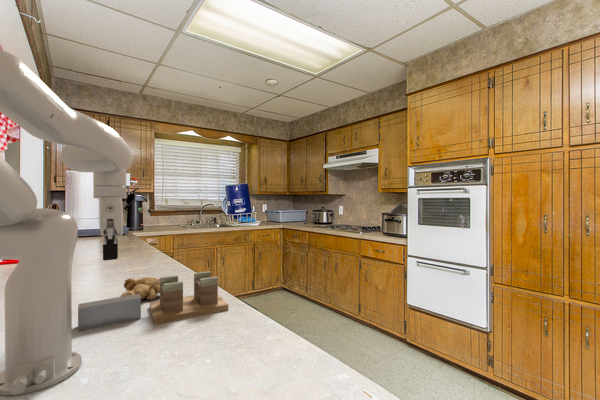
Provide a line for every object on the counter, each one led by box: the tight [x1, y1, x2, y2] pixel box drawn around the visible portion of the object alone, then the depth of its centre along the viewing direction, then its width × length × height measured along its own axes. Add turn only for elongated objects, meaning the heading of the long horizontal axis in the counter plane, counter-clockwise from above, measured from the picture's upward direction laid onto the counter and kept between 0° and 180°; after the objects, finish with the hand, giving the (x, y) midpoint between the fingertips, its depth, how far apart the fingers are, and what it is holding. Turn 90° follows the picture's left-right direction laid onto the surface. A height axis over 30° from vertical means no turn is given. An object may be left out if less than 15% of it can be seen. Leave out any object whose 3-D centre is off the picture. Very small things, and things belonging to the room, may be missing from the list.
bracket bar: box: [77, 294, 142, 333], centre depth 80 cm, size 4×14×6 cm, turn 126°
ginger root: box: [119, 276, 160, 301], centre depth 100 cm, size 16×16×8 cm
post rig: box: [149, 270, 229, 325], centre depth 90 cm, size 14×20×10 cm
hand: (110, 256), depth 80 cm, fingers open, 9 cm apart
